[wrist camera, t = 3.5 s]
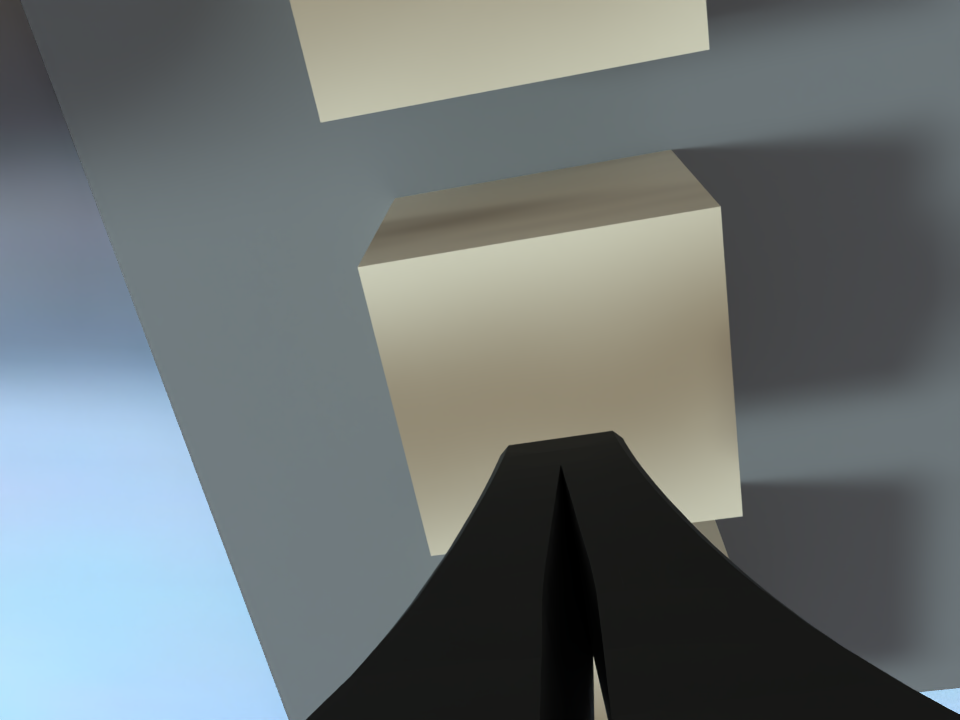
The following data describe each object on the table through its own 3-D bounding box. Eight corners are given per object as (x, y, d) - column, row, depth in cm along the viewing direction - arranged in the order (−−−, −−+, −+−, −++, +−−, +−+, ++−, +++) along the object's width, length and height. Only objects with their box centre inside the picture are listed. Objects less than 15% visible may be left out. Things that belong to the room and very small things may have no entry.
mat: (953, 671, 20) (963, 687, 20) (306, 739, 22) (302, 755, 22) (1020, -562, 11) (1039, -585, 11) (-68, -284, 13) (-89, -293, 13)
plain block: (694, 399, 17) (742, 516, 13) (448, 434, 18) (430, 556, 14) (671, 149, 15) (720, 206, 11) (394, 198, 16) (358, 267, 12)
